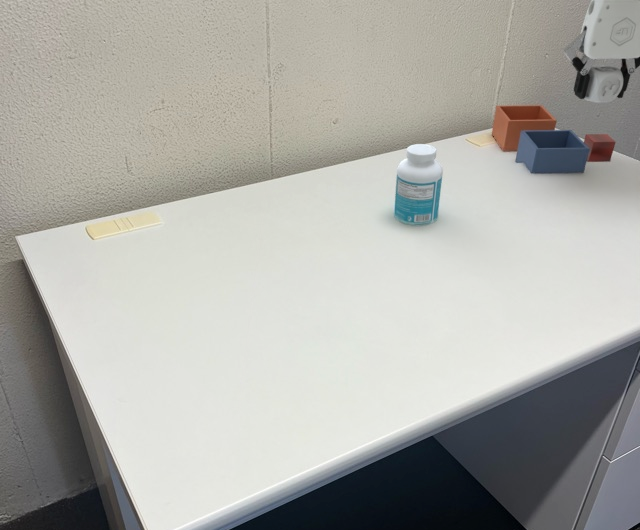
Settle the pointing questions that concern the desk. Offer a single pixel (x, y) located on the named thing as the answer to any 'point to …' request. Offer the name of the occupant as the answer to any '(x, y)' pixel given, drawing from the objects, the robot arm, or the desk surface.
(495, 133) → the terracotta bin
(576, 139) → the blue bin
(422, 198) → the pill bottle
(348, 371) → the desk surface
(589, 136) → the red block
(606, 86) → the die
